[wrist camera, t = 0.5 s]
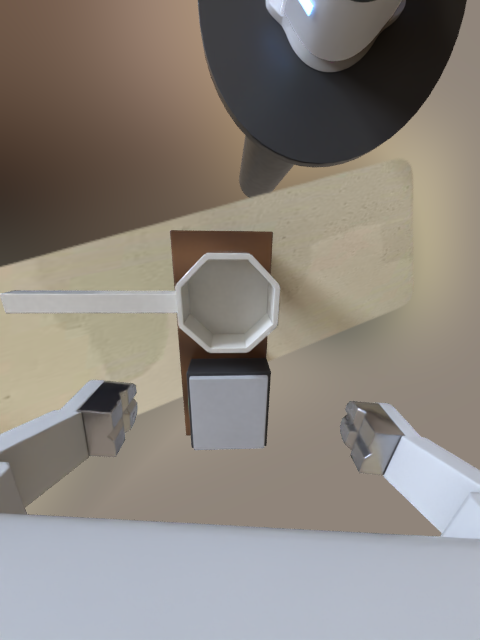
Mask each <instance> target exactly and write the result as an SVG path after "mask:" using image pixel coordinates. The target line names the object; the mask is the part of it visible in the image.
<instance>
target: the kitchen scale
mask: <svg viewBox="0 0 480 640" xmlns="http://www.w3.org/2000/svg"><path fill="white" fill-rule="evenodd" d="M186 375H187V389H188V405H189V418H190V431H191V445H192V448H194V450H215V449H251V448H264V446H266V443H267V426H268V409H269V393H270V392H269V391H270V375H271V371H270V369H269V365H268V362H267V359H266V358H220V359H191V361H190V364H189V367H188V370H187V373H186Z"/></svg>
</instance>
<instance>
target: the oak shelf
mask: <svg viewBox="0 0 480 640" xmlns="http://www.w3.org/2000/svg"><path fill="white" fill-rule="evenodd" d="M170 236H171V249H172V261H173V274H174V287H175V286H176V284H177V283H178V282H179V281H180V279H181V278H182V277H183V276H184V275H185V274H186V273H187V272H188V271H189V270H190V269H191V268H192V267H193V266H194V265H195V264H196V262H197V261H198V260H199V259H200V258H201V257H202V256H203V255H204V254H206V253H208V252H224V251H232V252H247V253H249V254H251V255H252V256H253V257H254V258H255V259H256V260H257V261H258V262H259V263H260V264H261V265H262V266H263V267H264V268H265V270H266V271H267V272H268V273H269V274H270V275H271V257H272V238H273V232H253V231H179V230H171V231H170ZM177 325H178V318H177ZM178 337H179V350H180V362H181V375H182V388H183V400H184V413H185V425H186V435H191V431H190V418H189V405H188V389H187V375H186V373H187V370H188V367H189V364H190V361H191V359H220V358H266V354H267V336H266V337H265V338H264V339H263V340H262V341H261V342H260V343H259V344H257V345H256V346H255V347H254V348H253V349H252V350H251V351H250V352H247V353H209V352H207V351H206V350H205V349H204V348H202V347H201V346H200V345H199V344H198V343H197V342H195V341H194V340H193V339H192V338H191V337H190V336H188V335H187V334H186V333H185V332H184V331H183V330H182V329H180V328H179V326H178Z"/></svg>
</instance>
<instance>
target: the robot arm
mask: <svg viewBox="0 0 480 640" xmlns="http://www.w3.org/2000/svg"><path fill="white" fill-rule="evenodd" d="M405 3H406V0H266V8H267V10H268V12H269V13H270V14H271V16H272V17H273V18H274V19H275V20H276V21H277V22H278V23H279V24H280V25H281V26H282V27H283V29H284V31H285V33H286V36H287V38H288V40H289V43H290V45H291V47H292V48H293V50H294V51H295V53H296V54H297V56H298V57H299V58H300V59H301V60H302V61H303V62H304V63H305V64H307V65H308V66H310V67H311V68H313V69H316V70H318V71H322V72H337V71H341V70H344V69H347V68H349V67H350V66H352V65H354V64H355V63H357V62H358V61H359V60H360V59H361V58H362V57H363V56H364V55H365V54H366V53H367V52H368V51H369V49H370V48H371V46H372V45H373V43H374V42H375V40H376V39H377V37H378V36H379V34H380V33H381V32H382V31H383V30H384V29H385V28H387V27H388V26H390V25H391V24H392V23H393V22H394V21H395V20H396V19H397V18H398V17H399V16H400V14H401V12H402V11H403V9H404V7H405ZM135 394H136V385H135V384H133V383H124V382H114V381H103V380H91V381H89V382H87V383H86V384H85V385H84V386H83V387H82V388H81V389H80V390H79V391H78V392H77V393H76V394H75V395H74V396H73V397H72V398H71V399H70V400H69V401H68V402H67V403H66V404H65V405H64V406H63V407H62V408H61V409H60V410H54V411H51V412H49V413H47V414H45V415H43V416H40V417H38V418H36V419H34V420H31V421H29V422H27V423H25V424H22V425H20V426H18V427H16V428H14V429H11V430H9V431H7V432H5V433H2V434H0V640H480V470H478V469H477V468H475V467H474V466H472V465H470V464H468V463H467V462H465V461H463V460H462V459H460V458H459V457H457V456H455V455H454V454H452V453H450V452H449V451H447V450H445V449H443V448H442V447H440V446H439V445H437V444H435V443H433V442H432V441H430V440H428V439H427V438H424V437H421V436H420V435H419V434H418V433H417V432H416V431H415V430H414V429H413V428H412V427H411V425H410V424H409V423H408V422H407V421H406V420H405V419H404V418H403V417H402V415H401V414H400V413H399V412H398V411H397V410H396V409H395V408H394V407H393V406H392V405H391V404H389V403H369V402H355V401H350V402H349V403H348V404H347V406H346V409H345V410H346V412H347V415H346V416H345V417H343V418H342V421H341V425H340V432H341V436H342V439H343V441H344V443H345V445H346V446H347V447H348V448H350V449H351V450H352V451H351V458H352V459H353V461H354V463H355V465H356V467H357V469H358V471H359V473H365V474H375V475H384V476H383V477H384V478H385V479H386V480H387V481H388V482H390V484H391V485H393V486H394V487H395V488H396V489H397V490H398V491H399V492H400V493H401V494H402V495H403V496H404V497H405V498H406V499H407V500H408V501H409V502H410V503H411V504H412V505H413V506H414V507H415V508H416V509H418V511H419V512H420V513H422V514H423V515H424V516H425V517H426V518H427V519H428V520H429V521H430V522H431V523H432V524H433V525H434V526H435V527H436V528H437V529H438V530H439V531H440V532H441V533H442V534H441V536H440V537H436V536H435V537H434V536H416V535H399V534H379V533H361V532H342V531H341V532H340V531H323V530H304V529H284V528H267V527H249V526H231V525H212V524H195V523H176V522H157V521H138V520H120V519H103V518H84V517H66V516H47V515H29V514H27V512H26V510H25V507H26V506H28V505H29V504H30V503H32V502H33V501H34V500H35V499H37V498H38V497H39V496H41V495H42V494H43V493H44V492H45V491H47V490H48V489H49V488H51V487H52V486H53V485H54V484H56V483H57V482H58V481H60V480H61V479H62V478H63V477H65V476H66V475H67V474H69V473H70V472H71V471H72V470H73V469H75V468H76V467H77V466H79V465H80V464H81V463H82V462H84V461H85V460H86V459H88V458H89V456H108V457H116V455H117V453H118V452H119V450H120V448H121V446H122V444H123V443H124V441H125V433H126V432H127V431H129V430H131V428H132V426H133V424H134V422H135V418H136V415H137V402H136V401H135V400H134V399H133V398H134V396H135Z"/></svg>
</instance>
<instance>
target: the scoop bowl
mask: <svg viewBox="0 0 480 640" xmlns="http://www.w3.org/2000/svg"><path fill="white" fill-rule="evenodd" d="M0 297H1V300H2V303H3V306H4V309H5V312H6V313H177V318H178V326H179V328H180V329H182V330H183V331H184V332H185V333H186V334H187V335H188V336H190V337H191V338H192V339H193V340H194V341H195V342H197V343H198V344H199V345H200V346H201V347H202V348H204V349H205V350H206V351H207V352H209V353H247V352H250V351H251V350H252V349H253V348H254V347H255V346H256V345H257V344H259V343H260V342H261V341H262V340H263V339H264V338H265V337H266V336H267V335H269V334H270V333H271V332H272V331H273V330H274V329H275V328H276V327H277V326H278V316H279V301H280V286H279V284H278V283H277V281H276V280H275V279H274V278H273V277H272V276H271V275H270V274H269V273H268V272H267V271H266V270H265V268H264V267H263V266H262V265H261V264H260V263H259V262H258V261H257V260H256V259H255V258H254V257H253V256H252V255H251V254H249V253H247V252H232V251H224V252H208V253H206V254H204V255H203V256H202V257H201V258H200V259H199V260H198V261H197V262H196V264H195V265H194V266H193V267H192V268H191V269H190V270H189V271H188V272H187V273H186V274H185V275H184V276H183V277H182V278H181V279H180V281H179V282H178V283H177V284H176V286H175V291H16V290H15V291H10V292H6V293H1V294H0Z"/></svg>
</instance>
